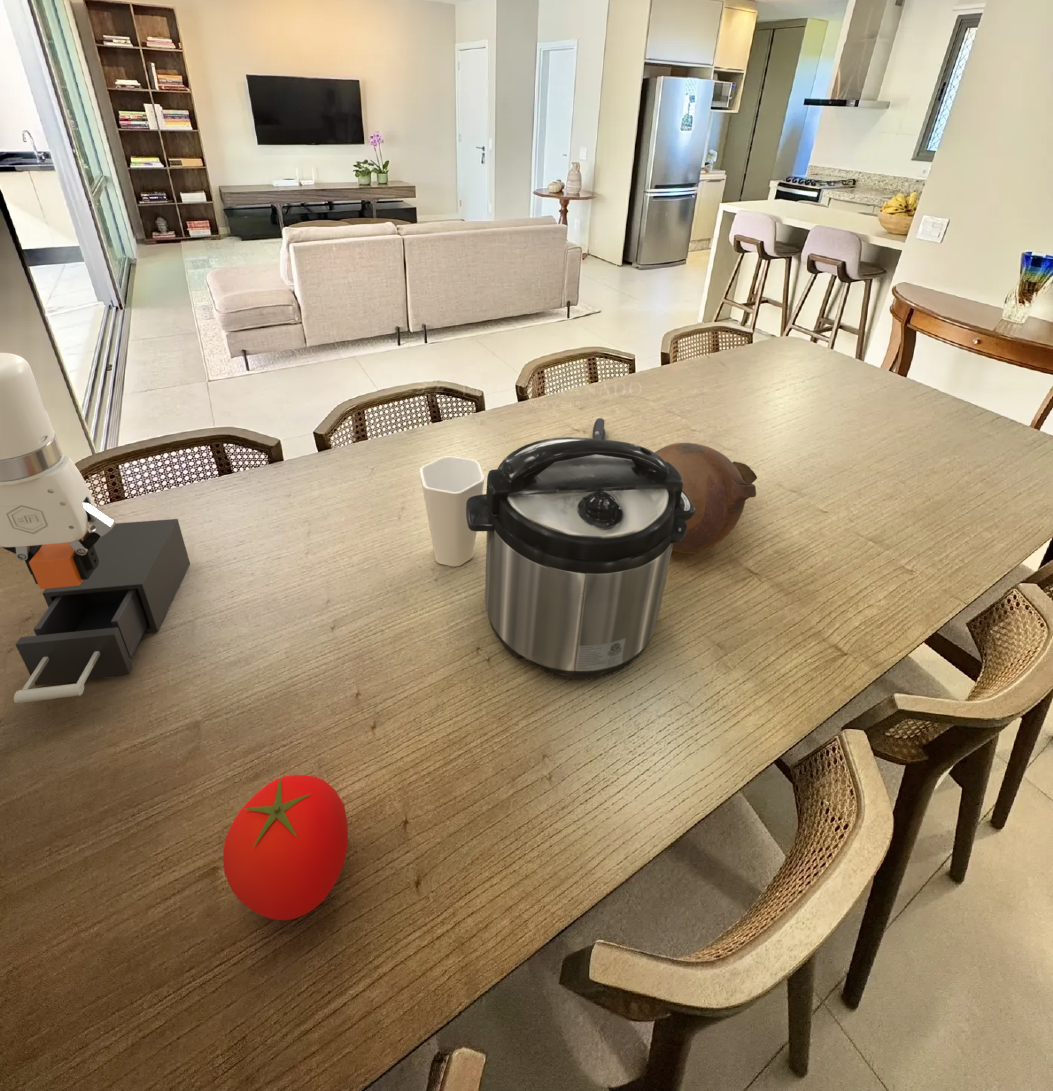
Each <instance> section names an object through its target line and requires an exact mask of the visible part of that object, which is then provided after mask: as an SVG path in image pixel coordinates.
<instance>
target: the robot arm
mask: <svg viewBox="0 0 1053 1091" xmlns="http://www.w3.org/2000/svg"><path fill="white" fill-rule="evenodd" d="M115 523H116V521H115V520H114V519H112V518H111V517H110V516H107V515H106V514H105V513H103V512H102V511H100V510H99V509H98V508H97V505H96V503H95V500H94V498H93V494H92V493H91V491H90V489H89V487H88V485H87V482H86V481H85V478H84V477H83V475H82V473H81V472H80V470H79V469H78V467H77V466H76V464H75V463H74V461H73V459H71V457H70V456H69V455H64V453H63V451H62V448H61V446H60V443H59V439H58V437H57V435H56V432H55V430H54V427H53V424H52V421H51V419H50V416H49V413H48V410H47V408H46V405H45V402H44V399H43V397H42V394H41V391H40V388H39V386H38V383H37V381H36V378H35V375H34V372H33V370H32V368H31V365H30V363H29V362H28V361H27V360H26V359H25V358H23V357H22V356H20V355H18V354H15V353H10V352H0V547H1V548H2V549H4V550H5V551H8V552H10V553H12V554H15V556H16V559H18V560H19V561H24V563H25V565H26V566H27V569H28V571H29V573H30V575H31V576H32V578H33V580H34V583H35V584H36V585H38V583H37V580H36V578H35V576H34V573H33V571H32V569H31V567H30V564H29V561H30V560H31V559H32V558H33V557H34V555H35V554H36V553H37V552H38V550H39V549H40V548H41V547H42V545H46V544H58V543H69V544H70V546H71V547H72V548H73V549H74V551H75V552H76V554H75V556H74V561H75V564H76V567H77V569H78V572H79V574H80V577H81V579H82V580H87V579H89V577H90V576H91V574H92V573H93V571H94V570H95V569H96V568H97V566H98V564H99V559H98V556H97V553H96V551H95V548H94V544H95V543H96V542H97V541H98V539H100V538H101V537H103V536H104V535H105V534H107V533H108V532H110V531H111V529H112V528H113V527H114V525H115ZM89 524H90V525H91V526H92V525H94V526H95V528H94V529H93V530H92V531H91V529H90V528H91V527H89ZM81 538H82V539H83V540H81Z"/></svg>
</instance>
